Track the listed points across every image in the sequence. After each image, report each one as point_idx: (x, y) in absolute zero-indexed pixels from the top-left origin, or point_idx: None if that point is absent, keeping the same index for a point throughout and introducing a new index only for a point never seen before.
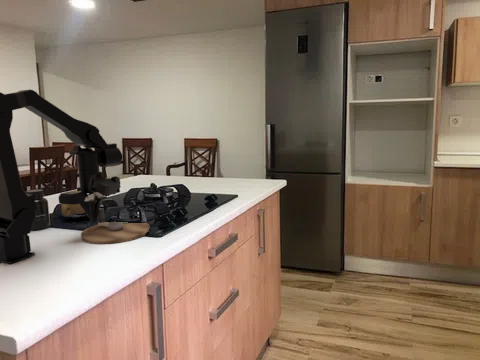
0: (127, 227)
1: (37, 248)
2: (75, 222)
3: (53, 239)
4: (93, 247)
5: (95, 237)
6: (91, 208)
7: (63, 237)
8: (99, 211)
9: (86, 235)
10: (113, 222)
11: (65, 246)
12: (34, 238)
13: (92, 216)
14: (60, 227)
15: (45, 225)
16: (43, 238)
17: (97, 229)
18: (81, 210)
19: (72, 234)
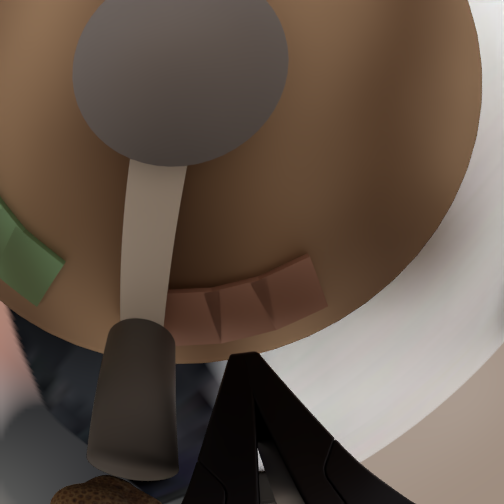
0: (75, 12)
1: (486, 313)
2: None
3: (391, 367)
4: (494, 54)
5: (452, 102)
6: (379, 480)
7: (362, 360)
8: (166, 443)
9: (419, 216)
10: (143, 136)
11: (489, 227)
12: (374, 419)
13: (291, 401)
14: None
15: (261, 482)
16: (376, 402)
17: (251, 266)
18: (106, 501)
19: (307, 369)
